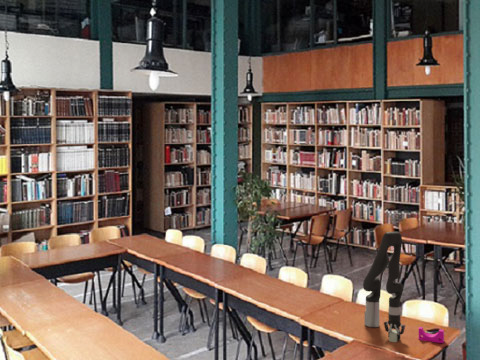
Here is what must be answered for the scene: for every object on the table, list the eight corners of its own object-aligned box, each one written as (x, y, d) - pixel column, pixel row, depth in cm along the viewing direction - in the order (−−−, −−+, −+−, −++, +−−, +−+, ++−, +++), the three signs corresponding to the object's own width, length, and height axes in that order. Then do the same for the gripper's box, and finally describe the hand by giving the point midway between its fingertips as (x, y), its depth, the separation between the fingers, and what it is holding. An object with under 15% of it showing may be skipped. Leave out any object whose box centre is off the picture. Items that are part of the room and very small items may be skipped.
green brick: (389, 341, 349) (389, 333, 349) (392, 337, 357) (392, 329, 357) (396, 342, 347) (396, 334, 347) (399, 338, 355) (399, 330, 355)
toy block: (444, 340, 351) (444, 328, 351) (443, 343, 346) (443, 331, 345) (419, 337, 358) (419, 325, 357) (418, 339, 352) (418, 328, 352)
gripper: (381, 312, 353) (381, 338, 354) (402, 316, 344) (402, 343, 345) (386, 310, 359) (386, 335, 359) (407, 313, 350) (407, 340, 350)
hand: (394, 339), depth 352 cm, fingers closed on green brick, 5 cm apart
